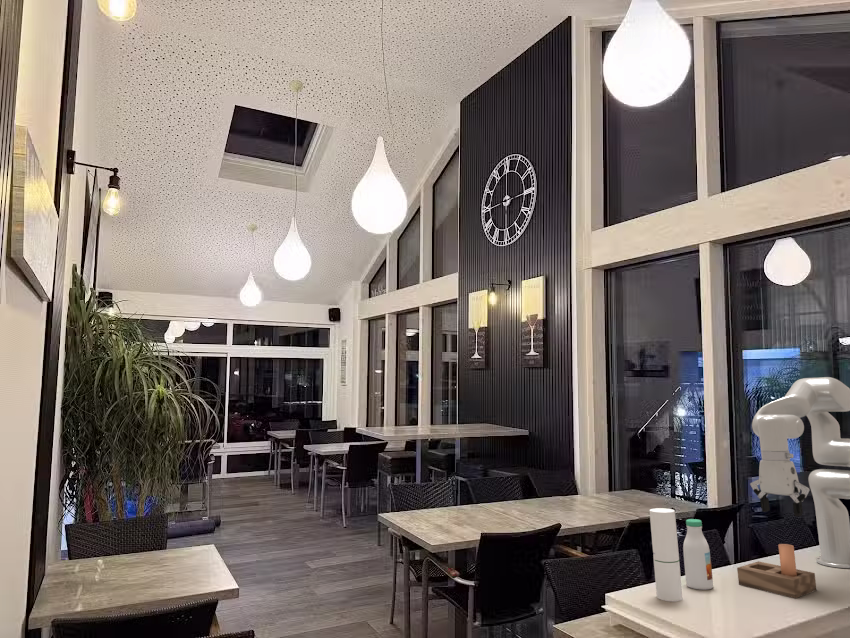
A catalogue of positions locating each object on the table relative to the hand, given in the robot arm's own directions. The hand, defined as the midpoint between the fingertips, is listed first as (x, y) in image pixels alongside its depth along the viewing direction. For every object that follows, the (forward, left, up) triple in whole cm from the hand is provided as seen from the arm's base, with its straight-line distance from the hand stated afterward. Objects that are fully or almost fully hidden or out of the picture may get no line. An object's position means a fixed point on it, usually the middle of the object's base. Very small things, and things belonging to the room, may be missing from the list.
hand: (781, 513), depth 184 cm
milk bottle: (+17, -18, -23) cm, 34 cm away
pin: (0, 0, -21) cm, 21 cm away
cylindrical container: (+33, -17, -23) cm, 44 cm away
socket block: (0, -4, -22) cm, 23 cm away
